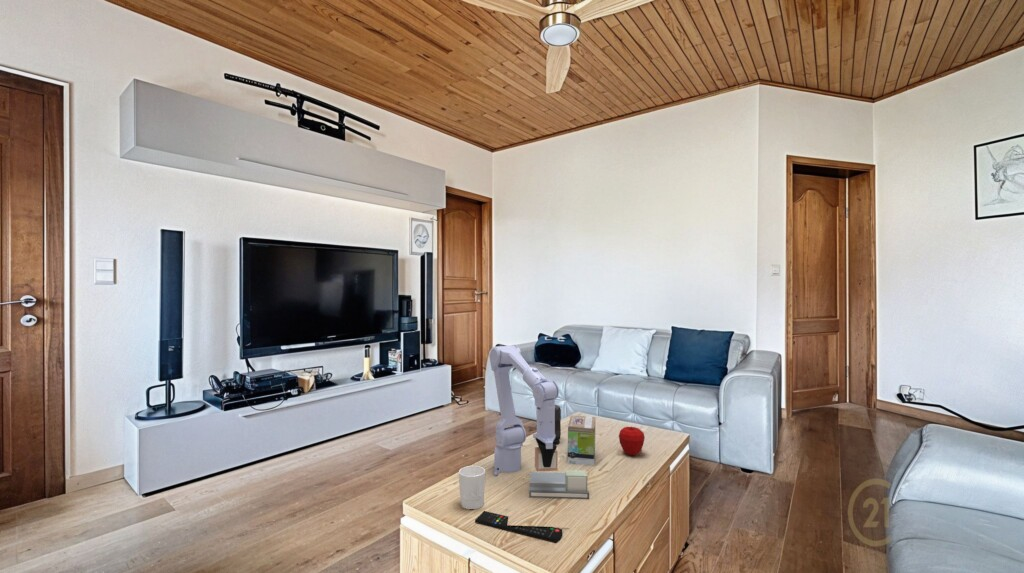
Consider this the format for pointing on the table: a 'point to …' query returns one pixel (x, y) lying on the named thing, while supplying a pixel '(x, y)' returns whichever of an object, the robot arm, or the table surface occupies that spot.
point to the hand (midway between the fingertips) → (545, 463)
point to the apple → (631, 440)
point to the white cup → (472, 486)
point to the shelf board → (552, 486)
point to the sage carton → (575, 480)
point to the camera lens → (557, 424)
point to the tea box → (581, 440)
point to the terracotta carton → (539, 462)
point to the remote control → (519, 527)
